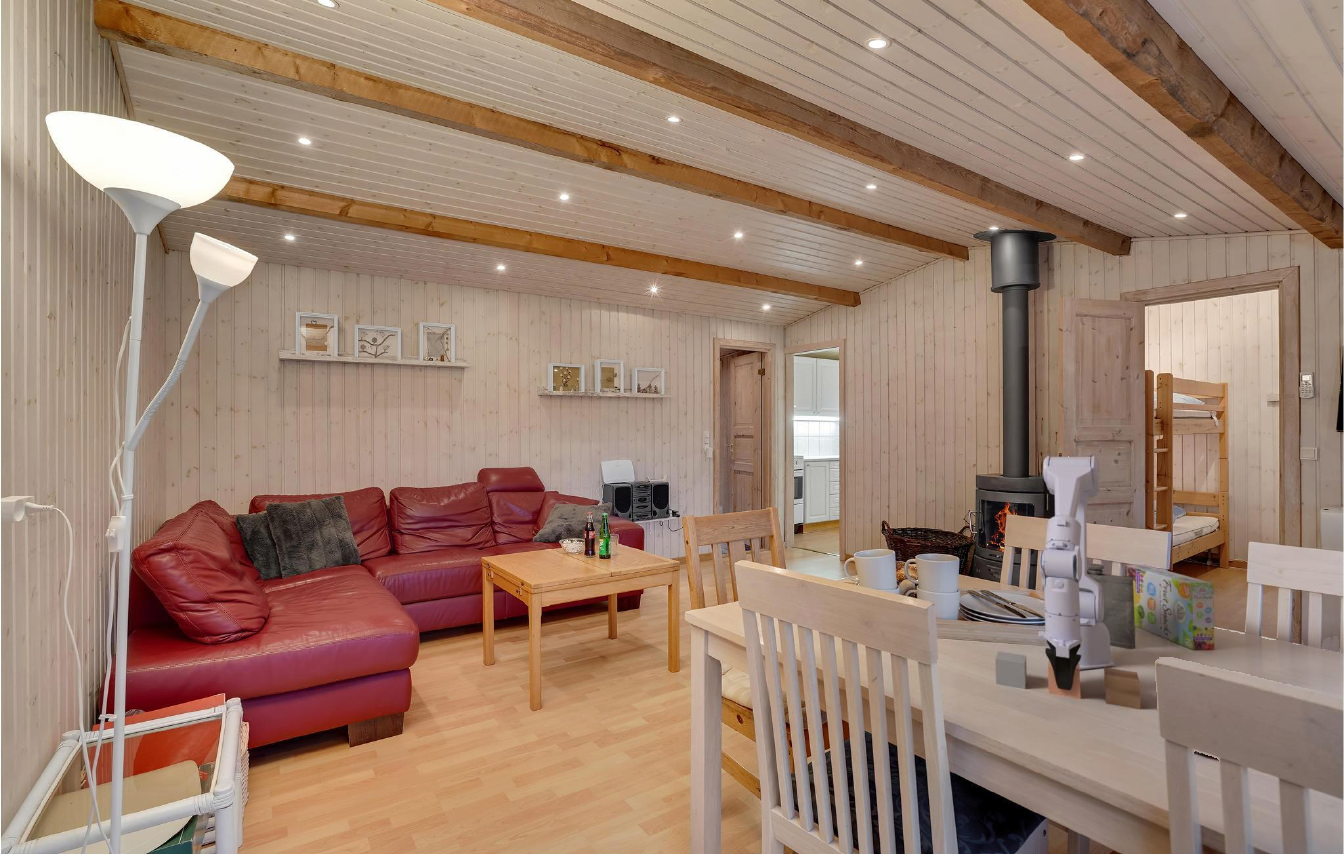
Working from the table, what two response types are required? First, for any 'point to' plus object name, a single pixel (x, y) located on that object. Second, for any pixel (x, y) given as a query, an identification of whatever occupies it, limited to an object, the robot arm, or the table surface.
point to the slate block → (1011, 670)
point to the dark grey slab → (1116, 606)
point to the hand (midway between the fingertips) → (1064, 683)
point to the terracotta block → (1069, 693)
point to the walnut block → (1122, 688)
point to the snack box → (1173, 606)
